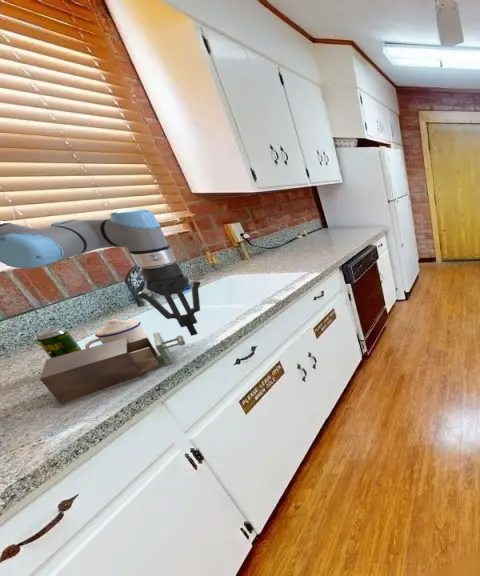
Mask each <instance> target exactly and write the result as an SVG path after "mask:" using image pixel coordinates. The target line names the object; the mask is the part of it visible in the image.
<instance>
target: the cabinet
mask: <svg viewBox="0 0 480 576" xmlns="http://www.w3.org/2000/svg"><path fill="white" fill-rule="evenodd" d="M128 342H129V341H128V340H127V338H123V339H119V340H116V341H112V342H108V343H105V344H102V343H101V344H97V345H95V346H94V345H93V346H91V347H90V346H89V348H87V349H86V348H83V349H82V350H79V351H76V352H72V353H69V354H65V355H61V356H58V357H54V358H50V357H49V358H48V359H45V362H44V365H43V368H42V371H41V374H40V377H39V380H40V381H41V382H42V384H44V386H45V387H46V389H48V391H49V392H50V393H51V394H52V396H53V397H54V398H55V399H56V401H57V402H58V403H59V405H64V404H66V403H69V402H73V401H75V400H77V399H80V398H83V397H86V396H89V395H92V394H95V393H97V392H100V391H104V390H106V389H108V388H112V387H114V386H117V385H120V384H123V383H126V382H128V381H132V380H134V379H137V378H139V377H142V376H143V374H142V373H141V372H140V371H139V369H138V368H137V366H136V365H135V363H134V362H133V360H132V359H131V357H130V355H129V354H128Z"/></svg>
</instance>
